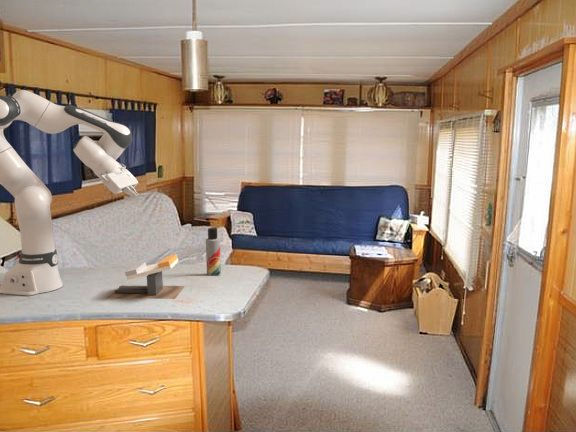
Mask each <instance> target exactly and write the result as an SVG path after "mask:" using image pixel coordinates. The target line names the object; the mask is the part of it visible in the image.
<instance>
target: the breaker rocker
mask: <svg viewBox="0 0 576 432" xmlns="http://www.w3.org/2000/svg"><path fill="white" fill-rule="evenodd" d="M177 263H179V258H178V255H177V253H175V254H172V255H167V256H165V257H164V258H162V259H161V260H160V261H159V262H158V263H153V264H149V265H147V263H146V261H144V262H139V263H136V264H134V265H132V266H131V267H129V268H128V270H126V271H125V272H124V274H125V276H126V279H127V281H129V280H132V279H136V278H140V277H144V276H147V275H149V274H153V273H157V272H161V271H162V272H163V271H164V272H165V271H169V270H171V269H173V267H175V266H176V265H177Z"/></svg>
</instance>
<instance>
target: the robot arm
mask: <svg viewBox="0 0 576 432" xmlns="http://www.w3.org/2000/svg"><path fill="white" fill-rule="evenodd" d="M13 121H22V122H26V123H27V124H29V125H30V126H31V127H34V128H36V129H37V130H40V131H41V132H43V133H45V134H53V135H54V134H59V133H62V132H63V131H65V130H67V129H69V128H70V127H74V126H76V125H82V126H83V125H84V126H87V127H89V128H91V129H94V130H96V131H97V132H101V133H103V134H102V135H101V138H99V140H94V139H92V138H90V137H89V136H88V135H83V136H82V137H80V138H79V140H78V141H77V142H76V143H75V144H74V146H73V152H74V154H75V156H77V158H78V159H79V160H80V161H81V162H82V163H83V164H84V165H85V166H86V167H88V168H89V169H91V170H92V172H93V173H94V175H96V176H97V177H98V178H99V179H100V180H101V182H102V184H103V185H104V186H105V187H106V188H107V189H108V190H109V191H110V192H111V193H113V194H115V195H117V194H121V193H123V192H124V193H125V194H127V196H130V197H131V198H132V199H136V198H138V197H139V195H140V194H139V193H138V192H137V191H136V189H135V188H136V187H137V186H138V185H139V181H138V179H137V178H136V177H135V176H134V175H133V174H132V173H131V172H130V171H129V170H128V169H126V167H127V166H126V165H125V164H123V163H120V162H118V161H117V159H118V158H120V156H121V155H122V154H123V152H124V151H125V150H126V149H127V148H128V147H129V146H130V145H131V144H132V143H133V135H132V132H131V130H130V128H129V127H127V126H126V125H124V124H122V123H120V122H116V121H112V120H109V119H107V118H104V117H102V116H101V115H98V114H95V113H93V112H90V111H88V110H86V109H84V108H81V107H78V106H75V105H65V106H64V105H59V104H56V103H54V102H52V101H50V100H48V99H46V98H44V97H43V96H40V95H39V94H36V93H34V92H31V91H29V90H25V89H21V90H18V91H16V92H15V93H13V94H12V95H1V94H0V185H1V186H2V187H4V189H5V190H7V192H9V194H10V195H12V196H13V198H14V207H15V213H16V218H17V224H18V228H19V234H20V242H21V252H19V254H17V255H15V260H17V259H18V261H17V263H16V264H15V265H14V266H12V267H11V268H10V269H9V270H8V271H6V272H5V274H4V275H3V278H2V284H1V285H0V294H5V295H17V296H33V295H34V296H35V295H37V294H42V293H48V292H52V291H56V290H57V289H60V288H61V287H63V286H64V282H63V281H62V278H61V276H60V271H59V266H58V252H57V251H58V250H57V248H56V245H55V244H56V242H55V234H54V233H55V232H54V225H53V220H52V213H51V204H52V202H53V195H52V192H51V191H50V189H49V188H48V187H47V186H46V185H45V183H44V182H43V181H42V180H41V179H40V178H39V176H37V175H36V174H35V172H34V171H33V170H32V169H31V168H30V167H29V166H28V165H27V164H26V162H24V160H23V158H21V156H20V155H19V154H18V152H17V151H16V149H14V147H13V146H12V145H11V144H10V142H8V140H7V139H6V137H5V135H4V131H6V130H7V129H8V128H9V126H10V125H11V124H12V123H13Z"/></svg>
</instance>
